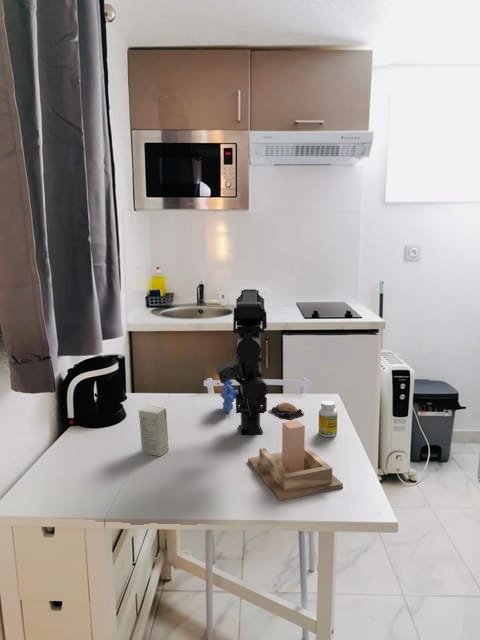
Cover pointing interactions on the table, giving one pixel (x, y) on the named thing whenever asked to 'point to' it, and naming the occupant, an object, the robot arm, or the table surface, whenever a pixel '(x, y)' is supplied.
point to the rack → (294, 475)
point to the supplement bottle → (328, 419)
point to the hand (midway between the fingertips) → (249, 410)
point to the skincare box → (153, 430)
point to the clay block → (293, 446)
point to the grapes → (228, 395)
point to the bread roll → (286, 411)
